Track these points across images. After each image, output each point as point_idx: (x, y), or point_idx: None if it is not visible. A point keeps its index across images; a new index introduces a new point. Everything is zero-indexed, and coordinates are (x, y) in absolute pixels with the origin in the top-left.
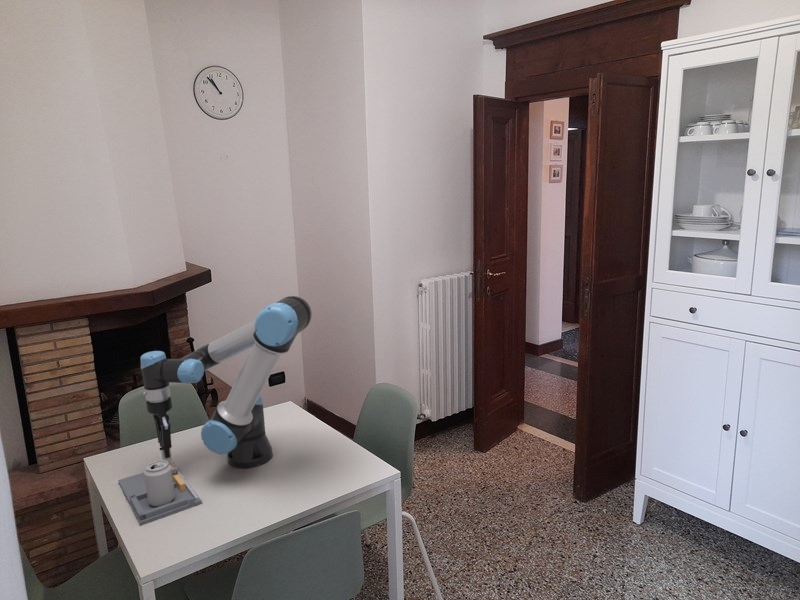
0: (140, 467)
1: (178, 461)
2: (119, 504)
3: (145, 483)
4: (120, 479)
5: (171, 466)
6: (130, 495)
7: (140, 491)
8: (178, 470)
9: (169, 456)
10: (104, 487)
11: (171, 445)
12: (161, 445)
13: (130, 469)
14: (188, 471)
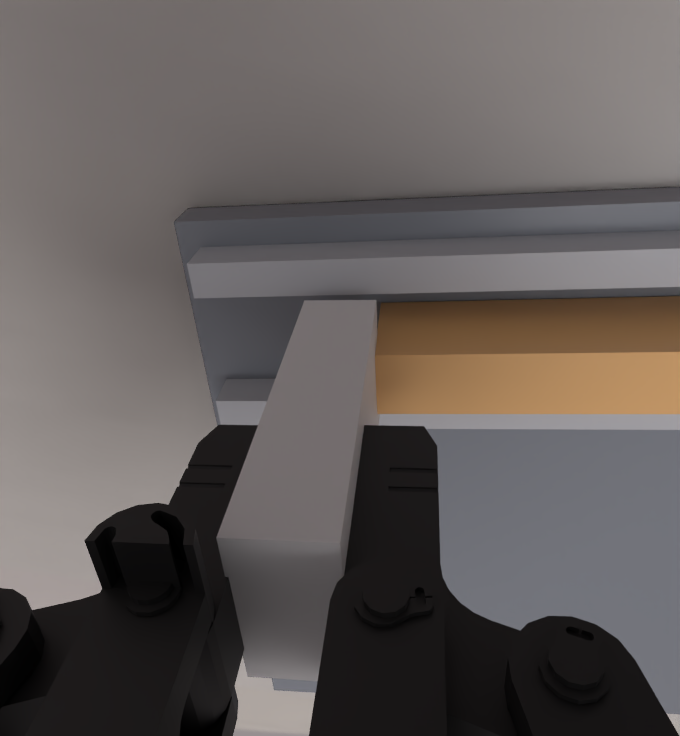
0: (49, 498)
1: (71, 114)
2: (673, 725)
3: (525, 574)
4: (273, 679)
5: (517, 363)
6: (661, 693)
7: (662, 633)
8: (474, 214)
9: (432, 450)
10: (292, 727)
11: (603, 679)
12: (231, 710)
13: (55, 562)
14: (520, 53)
